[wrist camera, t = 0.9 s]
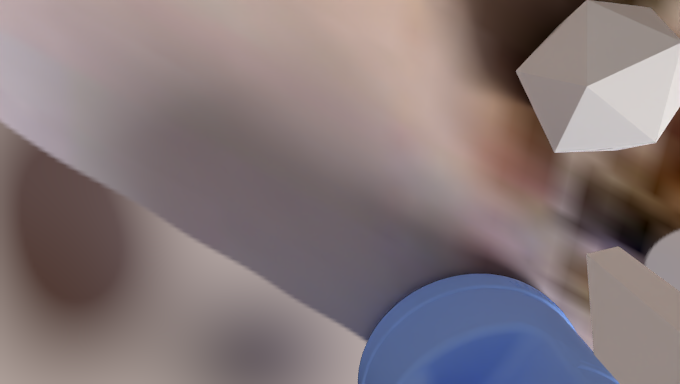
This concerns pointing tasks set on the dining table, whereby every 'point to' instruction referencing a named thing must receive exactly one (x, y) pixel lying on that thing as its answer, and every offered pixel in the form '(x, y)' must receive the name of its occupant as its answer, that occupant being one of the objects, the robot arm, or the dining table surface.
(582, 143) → the die
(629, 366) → the robot arm
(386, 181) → the dining table surface
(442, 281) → the water jug
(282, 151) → the dining table surface
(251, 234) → the dining table surface
